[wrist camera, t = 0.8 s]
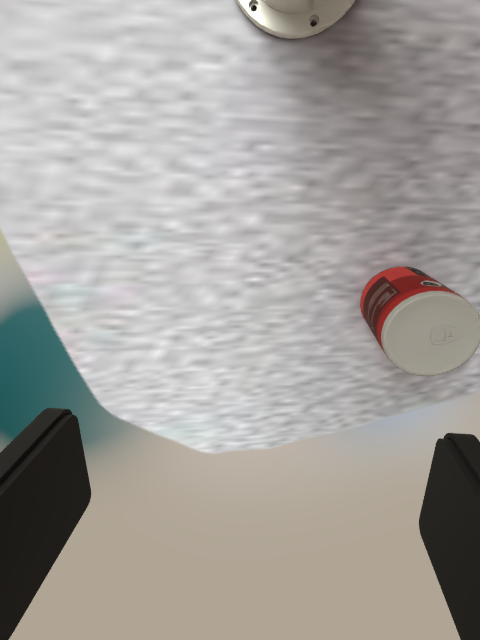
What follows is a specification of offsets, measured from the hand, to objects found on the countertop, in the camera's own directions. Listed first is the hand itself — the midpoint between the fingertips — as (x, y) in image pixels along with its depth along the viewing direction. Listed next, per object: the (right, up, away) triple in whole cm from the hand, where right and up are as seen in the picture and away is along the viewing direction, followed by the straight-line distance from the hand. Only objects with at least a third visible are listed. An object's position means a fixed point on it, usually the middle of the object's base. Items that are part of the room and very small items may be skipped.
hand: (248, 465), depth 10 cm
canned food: (+17, +6, +32) cm, 37 cm away
